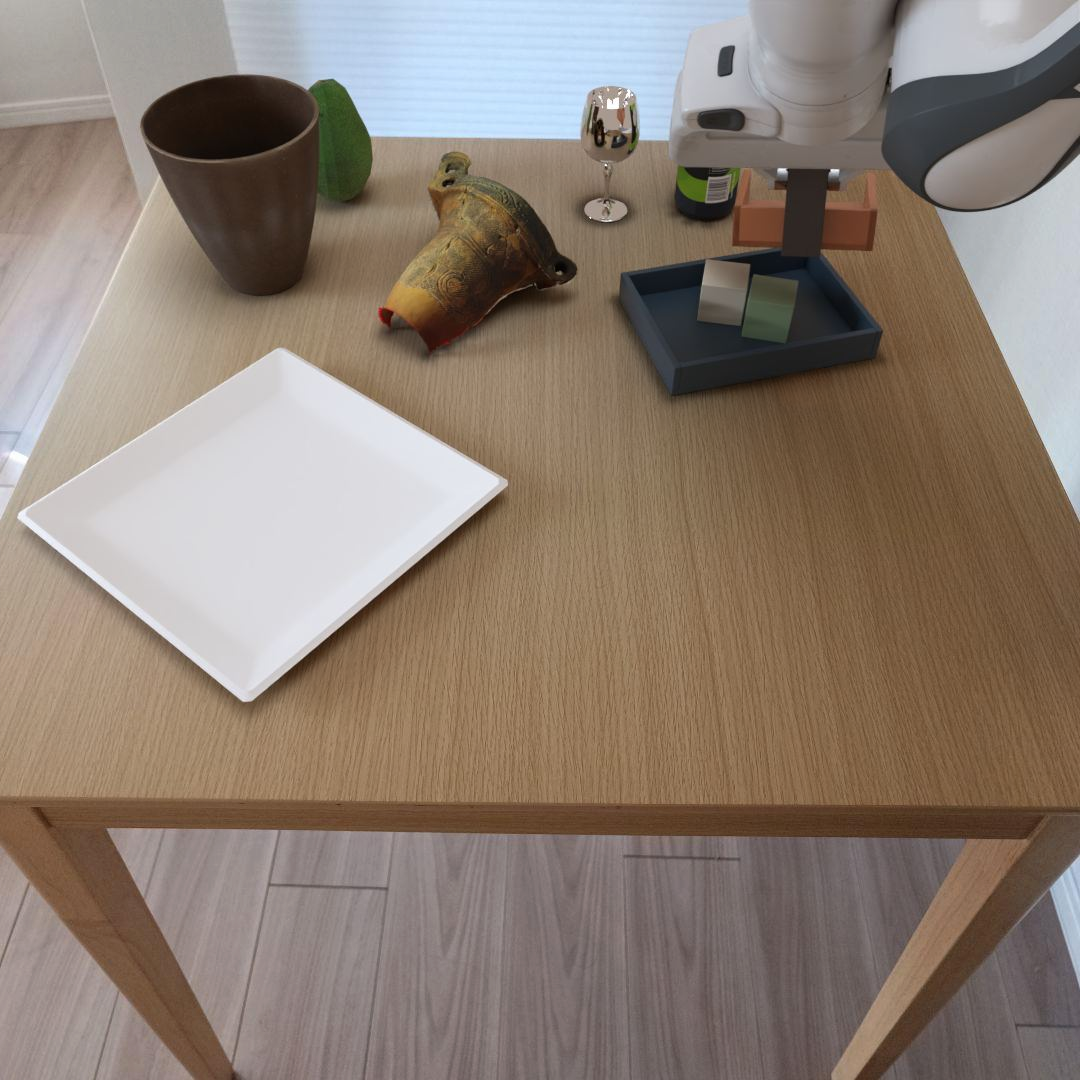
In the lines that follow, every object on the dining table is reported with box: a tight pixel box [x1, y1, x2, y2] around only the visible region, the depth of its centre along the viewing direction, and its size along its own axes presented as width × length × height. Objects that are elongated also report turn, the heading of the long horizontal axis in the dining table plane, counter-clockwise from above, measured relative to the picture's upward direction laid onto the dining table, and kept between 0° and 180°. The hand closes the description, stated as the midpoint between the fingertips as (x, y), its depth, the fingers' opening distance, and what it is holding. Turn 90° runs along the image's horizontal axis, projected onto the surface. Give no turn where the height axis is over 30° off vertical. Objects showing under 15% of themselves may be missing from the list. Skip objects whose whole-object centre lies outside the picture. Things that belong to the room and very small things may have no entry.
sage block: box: [742, 274, 798, 344], centre depth 97 cm, size 4×4×4 cm
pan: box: [731, 169, 879, 258], centre depth 89 cm, size 13×11×10 cm
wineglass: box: [579, 85, 641, 223], centre depth 108 cm, size 6×6×12 cm
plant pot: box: [139, 73, 319, 296], centre depth 99 cm, size 15×15×16 cm
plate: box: [16, 347, 509, 703], centre depth 83 cm, size 26×26×2 cm
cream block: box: [697, 258, 750, 326], centre depth 99 cm, size 4×4×4 cm
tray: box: [618, 248, 884, 396], centre depth 99 cm, size 19×14×3 cm
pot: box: [377, 151, 579, 355], centre depth 99 cm, size 17×11×18 cm
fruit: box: [307, 78, 374, 203], centre depth 110 cm, size 8×8×12 cm
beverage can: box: [674, 165, 742, 221], centre depth 108 cm, size 6×6×15 cm
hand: (806, 182), depth 84 cm, fingers closed on pan, 3 cm apart
